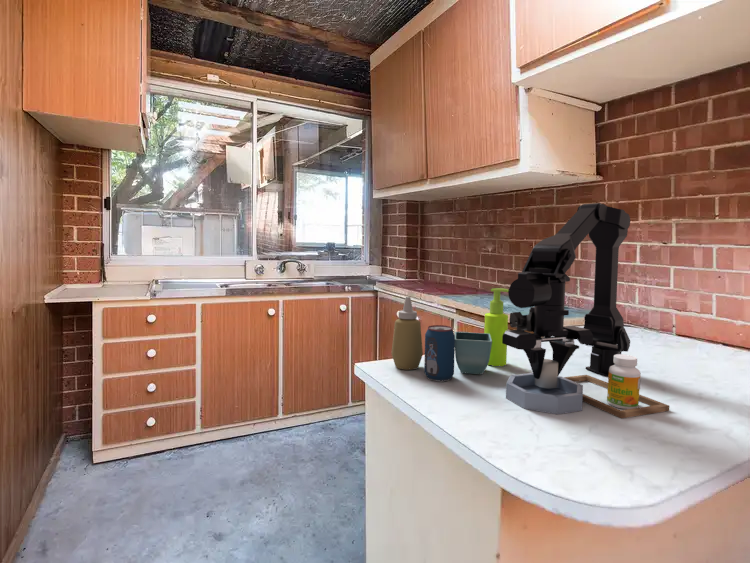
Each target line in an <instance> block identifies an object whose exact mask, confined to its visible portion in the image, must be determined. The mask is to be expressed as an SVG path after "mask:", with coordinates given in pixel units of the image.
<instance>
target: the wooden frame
mask: <svg viewBox="0 0 750 563" xmlns="http://www.w3.org/2000/svg"><path fill="white" fill-rule="evenodd" d="M563 377H564V378H566V379H569V380H571V381H574V382H576V383H578V382H585V381H587V382H589V383H592V384H594V385H597V386H600V387H602V388H604V389H607V390H608V381H604V380H602V379H599V378H597V377H594V376H591V375H588V374H582V375H572V376H563ZM582 402H583V403H587V404H588V405H591V406H593V407H595V408H598V409H599V410H602V411H604V412H606V413H609V414H610V415H612V416H615V417H617V418H619V419H626V418H632V417H639V416H644V415H645V416H646V415H650V414H657V413H663V412H669V411H670V405H669V404H666V403H664V402H662V401H661V402H660V401H659V400H655V399H653V398H649V397H647V396H645V395H642V394H640V393H639V402H641V403H642V404H645V405H648V406H641V407H640V406H639V407H638V408H633V409H620V408H617V407H614V406H612V405H610V404H608V403H605V402H602V401H601V400H598V399H596V398H593V397H591V396H590V395H589V396H588V395H586V394H584V393H583V398H582Z"/></svg>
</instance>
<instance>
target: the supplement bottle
mask: <svg viewBox="0 0 750 563" xmlns="http://www.w3.org/2000/svg"><path fill="white" fill-rule="evenodd" d="M613 361H614V363H615V365H612V366H610V368H609V375H608V376H607V377H608V378H607V379H608V380H607V383H608V389H607V394H606V402H607V404H608V405H610V406H612V407H614V408H617V409H620V410H627V409H633V408H639V402H640V401H639V394H640V389H641V388H640V387H641V376H642V375H641V371H640V370H639V369H638V368H637V366H638V358H637V356H634V355H631V354H629V355H628V354H622V353H621V354H616V355H614V359H613Z"/></svg>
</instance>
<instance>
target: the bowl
mask: <svg viewBox="0 0 750 563" xmlns="http://www.w3.org/2000/svg"><path fill="white" fill-rule="evenodd" d="M564 377H565V376H560V375H559V376H558V382H557V387H556V388H551V389H549V388H542V387H539V386H536V385H535V377H534V375H533V372H528V373H520V374H510V376H509V378H508V379H507V381H506V383H505V384H506V385H505V386H506V387H505V388H506V389H505V399H506V400H509V401H510V402H512V403H514V404H516V405H517V406H519V407H520V408H522V409H525V410H530V411H535V412H542V413H548V414H553V415H562V414H567V413H575V412H582V411H583V401H582V398H583V394H584V390H583V389H584V384H581V383H578V382H574V381H571V380H569V379H566V378H564Z"/></svg>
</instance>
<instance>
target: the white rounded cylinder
mask: <svg viewBox="0 0 750 563" xmlns="http://www.w3.org/2000/svg"><path fill="white" fill-rule="evenodd" d="M557 382H558V362H557V361H554V360H553V359H549V358H548V359H547V358H544V362H543V367H542V371H541V375H540V378H539V379H536V378H535V385H536V386H539V387H542V388H549V389H551V388H556V387H557Z"/></svg>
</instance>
